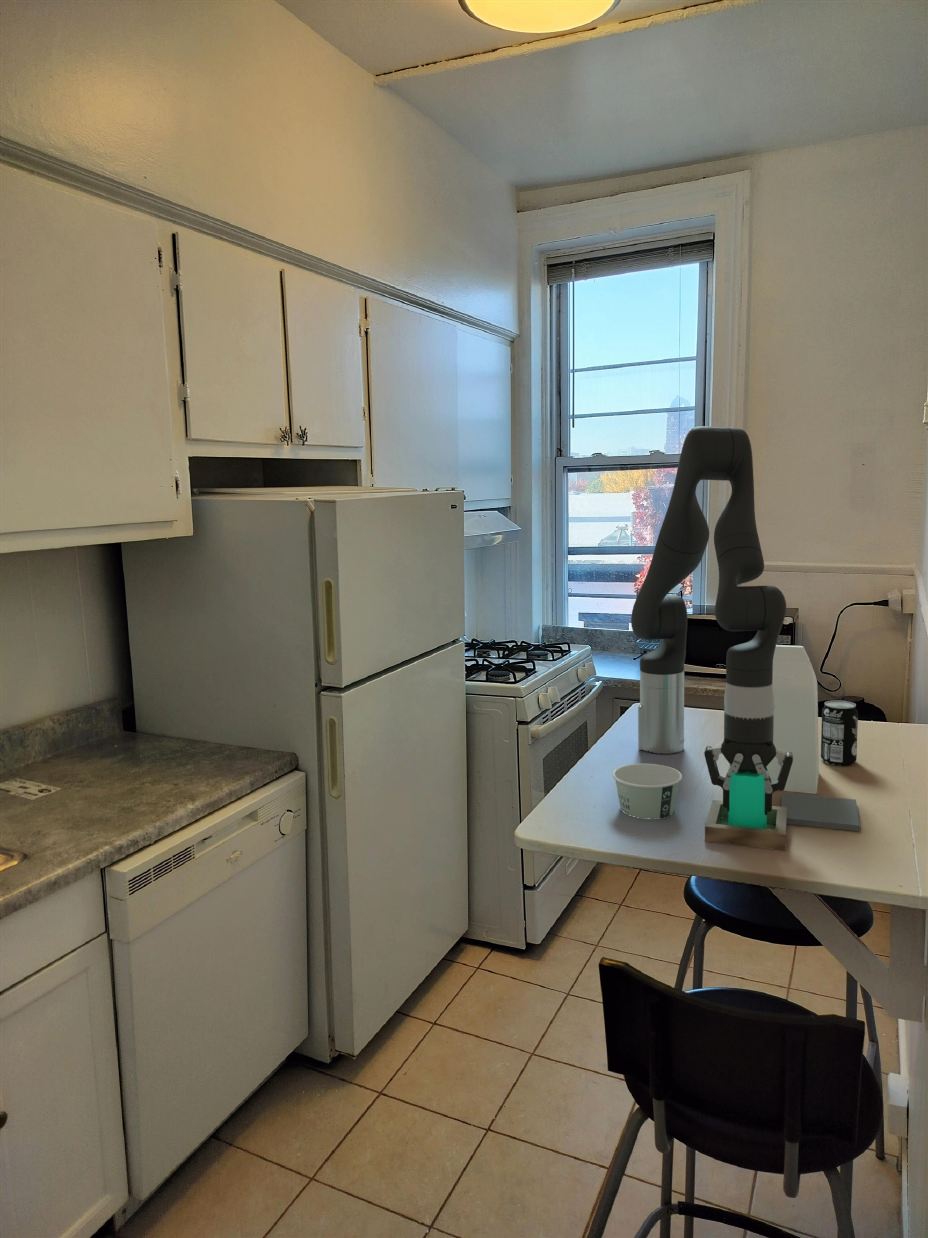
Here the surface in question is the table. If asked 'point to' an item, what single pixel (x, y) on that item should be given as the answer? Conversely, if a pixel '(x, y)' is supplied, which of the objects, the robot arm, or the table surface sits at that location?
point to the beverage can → (839, 733)
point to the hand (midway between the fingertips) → (747, 811)
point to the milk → (795, 718)
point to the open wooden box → (746, 829)
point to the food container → (647, 789)
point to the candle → (747, 800)
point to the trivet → (821, 811)
